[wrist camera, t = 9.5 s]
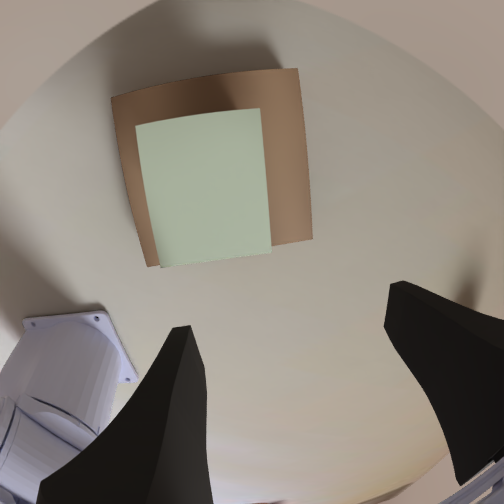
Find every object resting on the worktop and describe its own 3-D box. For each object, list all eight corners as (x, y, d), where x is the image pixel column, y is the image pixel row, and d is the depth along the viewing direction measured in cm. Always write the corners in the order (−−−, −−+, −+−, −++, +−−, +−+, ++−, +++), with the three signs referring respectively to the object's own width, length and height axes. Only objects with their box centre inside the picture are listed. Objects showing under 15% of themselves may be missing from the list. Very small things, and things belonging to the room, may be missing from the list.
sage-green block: (177, 219, 16) (160, 268, 10) (164, 129, 14) (135, 125, 8) (250, 209, 16) (272, 252, 10) (241, 118, 14) (259, 107, 8)
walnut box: (155, 247, 19) (147, 267, 17) (125, 101, 15) (110, 97, 12) (298, 223, 20) (312, 239, 17) (284, 76, 16) (297, 68, 13)
